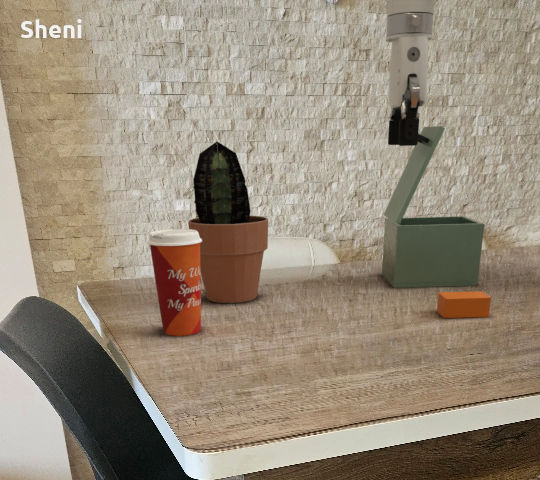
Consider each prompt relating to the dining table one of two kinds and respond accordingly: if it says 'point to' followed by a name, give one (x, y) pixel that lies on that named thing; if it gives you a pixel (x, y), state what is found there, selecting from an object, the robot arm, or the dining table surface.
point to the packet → (463, 304)
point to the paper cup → (177, 279)
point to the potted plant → (227, 228)
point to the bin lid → (413, 172)
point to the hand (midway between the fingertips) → (402, 145)
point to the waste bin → (432, 251)
